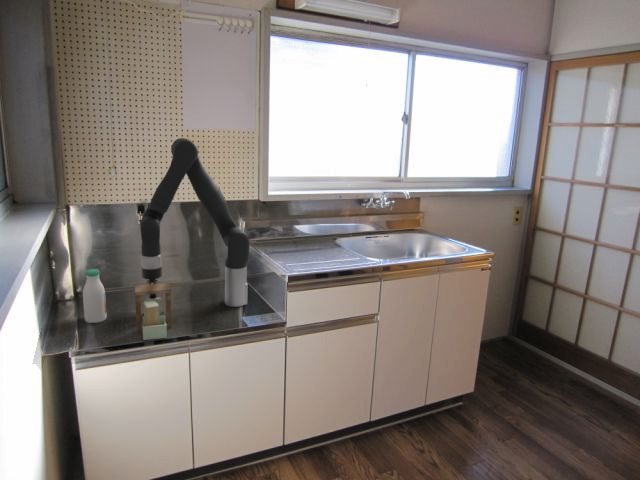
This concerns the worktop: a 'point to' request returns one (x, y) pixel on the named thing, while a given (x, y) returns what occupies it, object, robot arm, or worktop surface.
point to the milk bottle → (94, 298)
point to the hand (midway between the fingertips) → (153, 305)
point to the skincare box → (151, 313)
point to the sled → (155, 330)
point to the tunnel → (153, 290)
